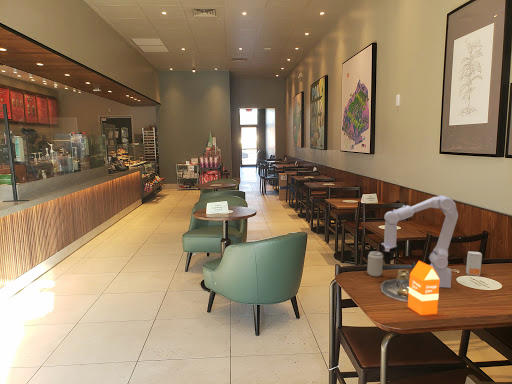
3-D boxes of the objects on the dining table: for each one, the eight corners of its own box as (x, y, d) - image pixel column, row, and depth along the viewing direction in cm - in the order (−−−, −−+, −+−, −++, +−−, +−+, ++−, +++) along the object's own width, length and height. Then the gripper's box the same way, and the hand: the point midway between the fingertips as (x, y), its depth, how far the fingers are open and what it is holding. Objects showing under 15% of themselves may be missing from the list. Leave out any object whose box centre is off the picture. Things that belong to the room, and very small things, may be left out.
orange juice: (420, 315, 153) (424, 267, 150) (407, 306, 161) (410, 260, 159) (437, 313, 155) (441, 266, 152) (423, 304, 163) (426, 259, 161)
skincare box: (467, 274, 201) (469, 253, 200) (465, 272, 205) (467, 251, 204) (480, 276, 200) (482, 254, 198) (478, 273, 204) (480, 252, 202)
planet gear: (403, 277, 197) (403, 268, 196) (412, 281, 191) (413, 272, 190) (393, 278, 194) (394, 270, 194) (402, 282, 188) (403, 274, 188)
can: (380, 272, 203) (381, 250, 202) (383, 277, 196) (384, 255, 194) (365, 271, 204) (367, 250, 202) (368, 276, 197) (369, 254, 195)
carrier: (426, 284, 186) (427, 276, 186) (444, 305, 163) (445, 295, 162) (376, 281, 189) (377, 273, 189) (387, 301, 166) (387, 292, 165)
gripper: (385, 231, 196) (383, 257, 198) (378, 237, 184) (377, 264, 185) (399, 233, 193) (397, 259, 194) (394, 239, 180) (392, 267, 182)
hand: (389, 262), depth 190 cm, fingers open, 7 cm apart
